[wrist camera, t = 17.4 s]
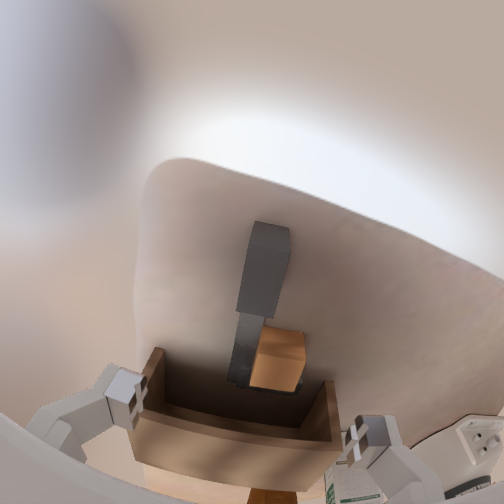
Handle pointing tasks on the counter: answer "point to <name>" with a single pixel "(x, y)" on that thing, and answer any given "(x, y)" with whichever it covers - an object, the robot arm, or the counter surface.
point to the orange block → (278, 359)
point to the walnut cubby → (235, 441)
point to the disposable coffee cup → (271, 497)
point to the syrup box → (350, 483)
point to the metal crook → (259, 299)
